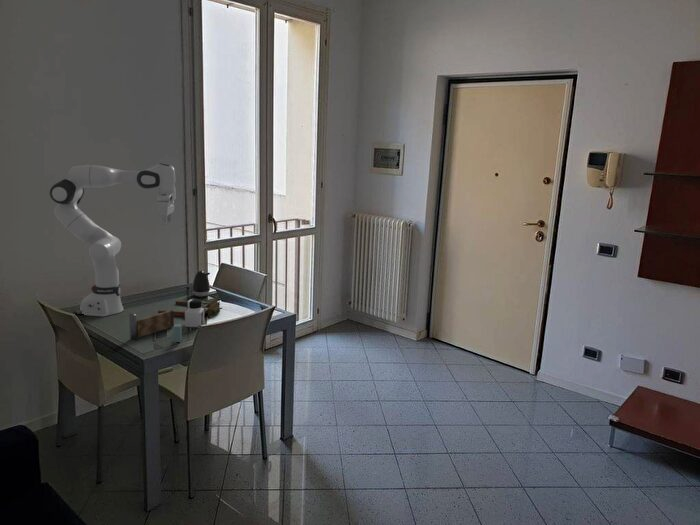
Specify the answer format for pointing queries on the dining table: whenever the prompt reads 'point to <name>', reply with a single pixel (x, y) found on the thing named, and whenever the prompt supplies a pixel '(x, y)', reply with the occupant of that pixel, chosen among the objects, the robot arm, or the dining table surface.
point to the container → (194, 313)
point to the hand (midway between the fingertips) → (167, 222)
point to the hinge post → (133, 326)
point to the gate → (155, 323)
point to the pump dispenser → (201, 284)
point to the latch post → (177, 332)
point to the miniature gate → (208, 307)
